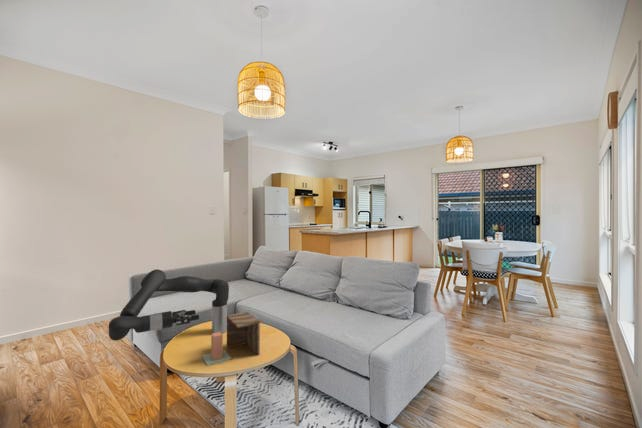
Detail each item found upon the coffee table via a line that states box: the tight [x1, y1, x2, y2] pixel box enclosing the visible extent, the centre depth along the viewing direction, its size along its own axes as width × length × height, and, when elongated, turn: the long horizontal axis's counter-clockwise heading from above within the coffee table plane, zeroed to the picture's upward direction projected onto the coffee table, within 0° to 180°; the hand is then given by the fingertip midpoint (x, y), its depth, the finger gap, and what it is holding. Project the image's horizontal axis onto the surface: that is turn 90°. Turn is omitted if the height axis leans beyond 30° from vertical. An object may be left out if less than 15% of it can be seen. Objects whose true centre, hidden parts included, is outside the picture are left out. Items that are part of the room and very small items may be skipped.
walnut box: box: [226, 311, 261, 356], centre depth 161 cm, size 19×12×18 cm, turn 34°
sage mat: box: [201, 349, 232, 366], centre depth 153 cm, size 11×12×1 cm
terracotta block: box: [210, 332, 224, 360], centre depth 153 cm, size 4×4×12 cm
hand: (197, 314), depth 147 cm, fingers open, 8 cm apart
